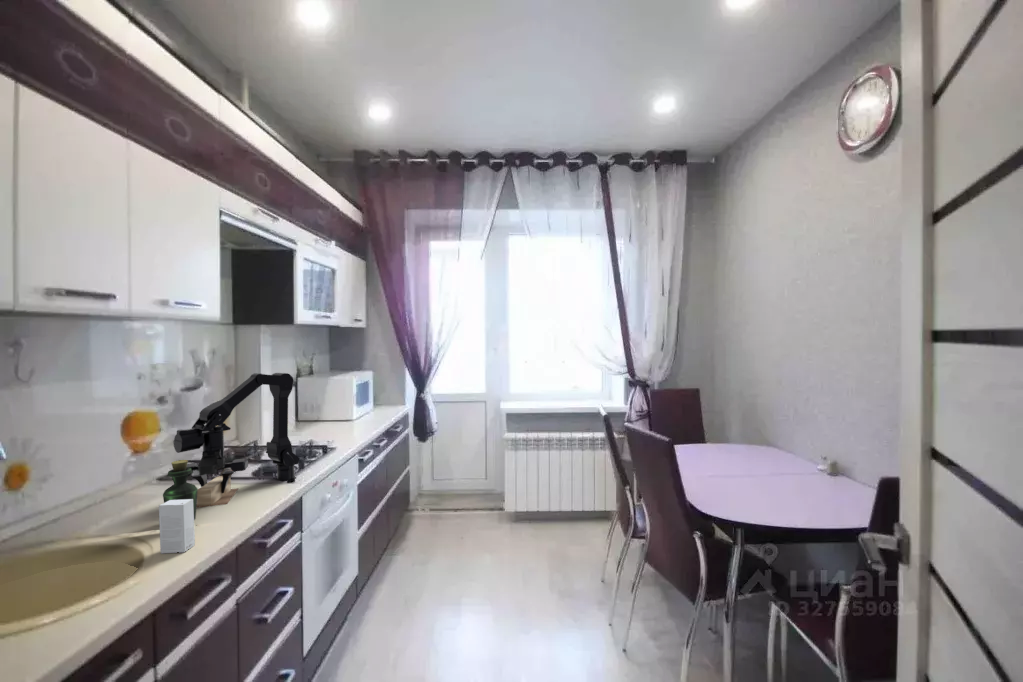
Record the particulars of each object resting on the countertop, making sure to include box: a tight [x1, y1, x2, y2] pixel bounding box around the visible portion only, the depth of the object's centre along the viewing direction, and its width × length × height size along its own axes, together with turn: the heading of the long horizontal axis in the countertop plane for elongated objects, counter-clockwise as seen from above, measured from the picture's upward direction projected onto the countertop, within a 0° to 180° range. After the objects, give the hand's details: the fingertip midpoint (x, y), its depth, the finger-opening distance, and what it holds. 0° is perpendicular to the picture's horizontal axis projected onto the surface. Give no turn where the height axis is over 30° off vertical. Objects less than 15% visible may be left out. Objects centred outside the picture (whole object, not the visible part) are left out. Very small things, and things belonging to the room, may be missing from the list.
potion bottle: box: [162, 459, 198, 521], centre depth 133 cm, size 8×8×18 cm
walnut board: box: [196, 488, 239, 509], centre depth 152 cm, size 16×14×1 cm
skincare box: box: [158, 499, 196, 554], centre depth 118 cm, size 6×4×12 cm
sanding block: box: [197, 475, 232, 506], centre depth 152 cm, size 14×4×5 cm, turn 9°
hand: (214, 493), depth 152 cm, fingers open, 4 cm apart
